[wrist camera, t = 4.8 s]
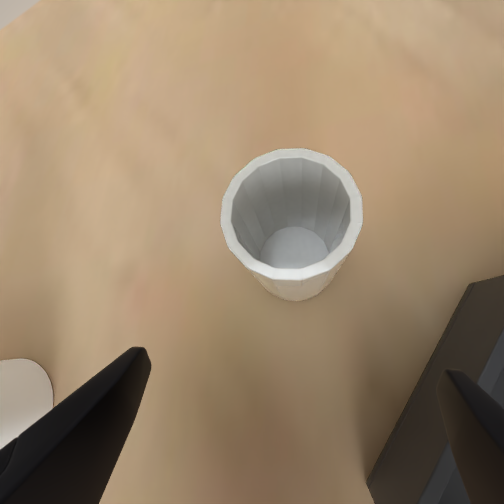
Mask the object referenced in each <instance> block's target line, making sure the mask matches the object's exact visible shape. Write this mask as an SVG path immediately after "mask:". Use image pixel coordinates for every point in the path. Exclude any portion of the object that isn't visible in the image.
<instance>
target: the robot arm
mask: <svg viewBox="0 0 504 504" xmlns="http://www.w3.org/2000/svg"><path fill="white" fill-rule="evenodd" d="M150 371H151V362H150V359H149V356H148V354H147V351H146V349H145V348H144V347H131V348H130V349H128V350H127V351H126V352H124V353H123V354H122V355H121V356H119V357H118V358H117V359H116V360H114V361H113V362H112V363H110V364H109V365H108V366H107V367H105V368H104V369H103V370H101V371H100V372H99V373H98V374H96V375H95V376H94V377H92V378H91V379H90V380H89V381H87V382H86V383H85V384H84V385H82V386H81V387H80V388H78V389H77V390H76V391H75V392H73V393H72V394H71V395H69V396H68V397H67V398H66V399H64V400H63V401H62V402H61V403H59V404H58V405H57V406H55V407H54V408H53V409H52V410H50V411H49V412H48V413H46V414H45V415H44V416H43V417H41V418H40V419H39V420H37V421H36V422H35V423H34V424H32V425H31V426H30V427H29V428H27V429H26V430H25V431H23V432H22V433H21V434H20V435H19V436H18V437H16V438H14V439H13V440H12V441H10V442H9V443H8V444H7V445H5V446H4V447H3V448H2V449H0V504H99V502H100V499H101V497H102V495H103V493H104V490H105V488H106V486H107V483H108V481H109V479H110V476H111V474H112V472H113V469H114V467H115V465H116V462H117V460H118V458H119V455H120V453H121V451H122V448H123V446H124V444H125V441H126V439H127V437H128V434H129V432H130V430H131V427H132V425H133V423H134V420H135V418H136V415H137V412H138V409H139V406H140V403H141V400H142V397H143V393H144V390H145V387H146V384H147V381H148V378H149V375H150ZM436 393H437V398H438V402H439V405H440V409H441V413H442V417H443V421H444V425H445V428H446V432H447V436H448V440H449V444H450V447H451V451H452V454H453V457H454V460H455V463H456V466H457V468H458V471H459V474H460V476H461V479H462V482H463V484H464V487H465V490H466V492H467V495H468V498H469V500H470V503H471V504H504V408H503V407H502V406H501V405H500V404H499V403H498V402H497V401H496V400H494V399H493V398H492V397H491V396H490V395H489V394H488V393H487V392H486V391H484V390H483V389H482V388H481V387H480V386H479V385H478V384H477V383H476V382H474V381H473V380H472V379H471V378H470V377H469V376H468V375H467V374H466V373H464V372H463V371H461V370H458V369H444V370H443V371H442V374H441V376H440V379H439V381H438V384H437V387H436Z"/></svg>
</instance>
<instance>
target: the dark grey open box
mask: <svg viewBox="0 0 504 504" xmlns="http://www.w3.org/2000/svg"><path fill="white" fill-rule="evenodd" d="M444 369H458V370H461V371H463V372H464V373H466V374H467V375H468V376H469V377H470V378H471V379H472V380H473V381H474V382H476V383H477V384H478V385H479V386H480V387H481V388H482V389H483V390H484V391H486V392H487V393H488V394H489V395H490V396H491V397H492V398H493V399H494V400H496V401H497V402H498V403H499V404H500V405H501V406H502V407H503V408H504V275H503V276H499V277H495V278H491V279H487V280H483V281H479V282H476V283H471V284H469V286H468V288H467V290H466V291H465V293H464V295H463V297H462V299H461V301H460V303H459V305H458V307H457V309H456V311H455V313H454V314H453V316H452V318H451V320H450V322H449V324H448V326H447V328H446V330H445V332H444V334H443V336H442V338H441V339H440V341H439V343H438V345H437V347H436V349H435V351H434V353H433V355H432V357H431V359H430V361H429V362H428V364H427V366H426V368H425V370H424V372H423V374H422V376H421V378H420V380H419V382H418V384H417V386H416V387H415V389H414V391H413V393H412V395H411V397H410V399H409V401H408V403H407V405H406V407H405V409H404V410H403V412H402V414H401V416H400V418H399V420H398V422H397V424H396V426H395V428H394V430H393V432H392V434H391V435H390V437H389V439H388V441H387V443H386V445H385V447H384V449H383V451H382V453H381V455H380V457H379V458H378V460H377V462H376V464H375V466H374V468H373V470H372V472H371V474H370V476H369V478H368V480H367V482H366V484H367V486H368V489H369V491H370V493H371V496H372V498H373V500H374V503H375V504H471V503H470V500H469V498H468V495H467V492H466V490H465V487H464V484H463V482H462V479H461V476H460V474H459V471H458V468H457V466H456V463H455V460H454V457H453V454H452V451H451V447H450V444H449V440H448V436H447V432H446V428H445V425H444V421H443V417H442V413H441V409H440V405H439V402H438V398H437V393H436V387H437V384H438V381H439V379H440V376H441V374H442V371H443V370H444Z"/></svg>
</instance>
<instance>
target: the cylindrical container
mask: <svg viewBox="0 0 504 504" xmlns="http://www.w3.org/2000/svg"><path fill="white" fill-rule="evenodd" d="M52 409H53V389H52V386H51V382H50V379H49V377H48V375H47V373H46V372H45V371H44V369H43V368H42V367H41V366H40V365H38V364H37V363H36V362H34V361H31V360H29V359H23V358H20V359H10V360H1V361H0V449H2V448H3V447H4V446H5V445H7V444H8V443H9V442H10V441H12V440H13V439H14V438H16V437H18V436H19V435H20V434H21V433H22V432H23V431H25V430H26V429H27V428H29V427H30V426H31V425H32V424H34V423H35V422H36V421H37V420H39V419H40V418H41V417H43V416H44V415H45V414H46V413H48V412H49V411H50V410H52Z"/></svg>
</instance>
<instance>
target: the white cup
mask: <svg viewBox="0 0 504 504" xmlns="http://www.w3.org/2000/svg"><path fill="white" fill-rule="evenodd" d="M220 223H221V228H222V231H223V234H224V237H225V240H226V243H227V246H228V248H229V250H230V251H231V252H232V253H233V254H234V255H235V256H236V257H237V258H238V259H239V260H240V262H241V263H242V264H243V265H244V266H245V267H246V268H247V269H248V270H249V271H250V272H251V274H252V275H253V276H254V277H255V278H256V279H257V280H258V281H259V282H260V283H261V284H262V285H263V287H264V288H265V289H266V290H267V291H268V292H269V293H271V294H273V295H274V296H276V297H278V298H281V299H284V300H289V301H301V300H306V299H309V298H312V297H314V296H316V295H317V294H319V293H320V292H321V291H323V290H324V289H325V287H326V286H328V285H329V283H330V282H331V281H332V279H333V278H334V276H335V275H336V273H337V271H338V270H339V268H340V267H341V265H342V264H343V262H344V261H345V259H346V258H347V256H348V255H349V253H350V252H351V250H352V249H353V247H354V244H355V242H356V240H357V237H358V235H359V232H360V230H361V228H362V225H363V206H362V195H361V193H360V191H359V190H358V188H357V186H356V184H355V182H354V180H353V178H352V176H351V174H350V173H349V172H348V171H347V170H346V169H345V168H343V167H342V166H341V165H340V164H339V163H337V162H336V161H335V160H334V159H333V158H331V157H329V156H328V155H325V154H322V153H319V152H315V151H312V150H309V149H306V148H291V149H278V150H277V149H276V150H274V151H271V152H269V153H267V154H264V155H262V156H259V157H257V158H254V160H252V161H250V162H249V163H248V164H247V165H246V166H245V167H244V168H243V169H241V170H240V171H239V172H238V173H237V174H236V175H235V176H234V177H233V179H232V181H231V183H230V185H229V187H228V189H227V190H226V192H225V194H224V196H223V199H222V208H221V219H220Z"/></svg>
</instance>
